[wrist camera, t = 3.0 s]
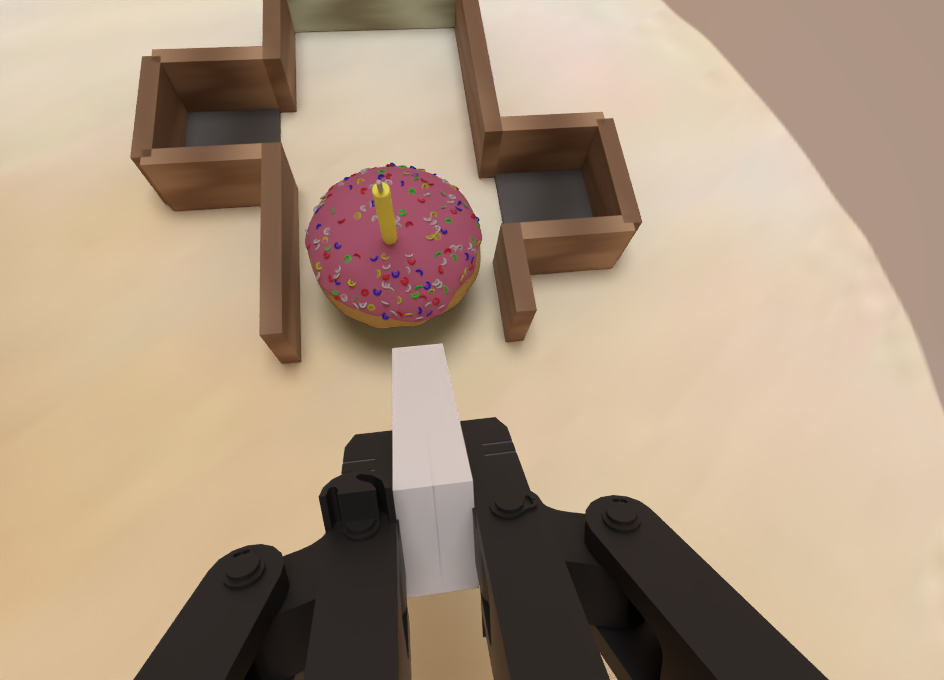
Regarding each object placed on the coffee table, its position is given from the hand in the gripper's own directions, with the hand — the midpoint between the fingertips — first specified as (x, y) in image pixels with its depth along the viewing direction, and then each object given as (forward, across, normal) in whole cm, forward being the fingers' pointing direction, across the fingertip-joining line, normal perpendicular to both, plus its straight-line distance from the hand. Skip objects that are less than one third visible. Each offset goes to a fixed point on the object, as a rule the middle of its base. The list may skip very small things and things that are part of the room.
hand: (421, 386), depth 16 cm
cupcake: (+15, -1, -2) cm, 15 cm away
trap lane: (+21, -1, +4) cm, 21 cm away
